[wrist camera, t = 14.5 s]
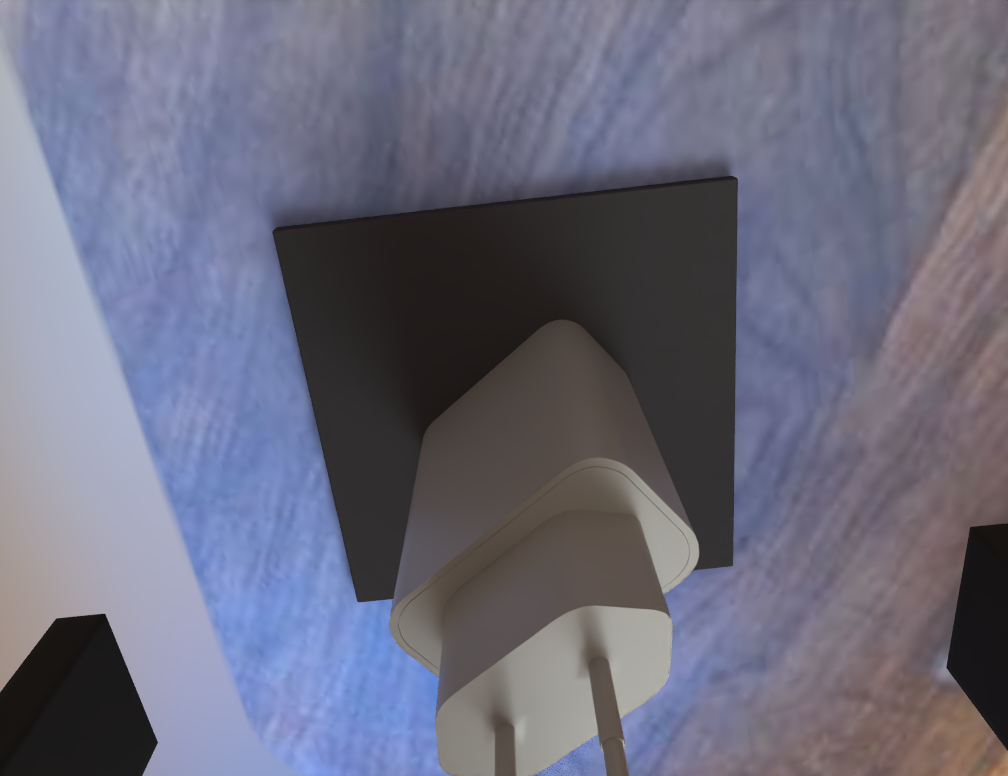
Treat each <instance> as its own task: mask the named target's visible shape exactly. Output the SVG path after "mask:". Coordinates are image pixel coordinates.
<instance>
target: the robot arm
mask: <svg viewBox="0 0 1008 776" xmlns="http://www.w3.org/2000/svg"><path fill="white" fill-rule="evenodd" d="M946 668H947V669H948V670H949V672H950V673H951V675H952V676H953V677H954V679H955V680H956V681H957V683H958V684H959V685H960V687H961V688H962V689H963V691H964V692H965V694H966V695H967V696H968V698H969V699H970V700H971V702H972V703H973V704H974V706H975V707H976V708H977V710H978V711H979V712H980V714H981V715H982V717H983V718H984V719H985V721H986V722H987V723H988V725H989V726H990V727H991V729H992V730H993V731H994V733H995V734H996V735H997V737H998V738H999V740H1000V741H1001V742H1002V744H1003V745H1004V746H1005V748H1006V749H1007V750H1008V523H1007V524H997V525H987V526H977V527H970V532H969V538H968V543H967V549H966V555H965V561H964V567H963V573H962V579H961V585H960V591H959V596H958V602H957V608H956V614H955V620H954V626H953V632H952V638H951V644H950V650H949V655H948V661H947V667H946ZM157 743H158V742H157V739H156V737H155V734H154V732H153V729H152V727H151V725H150V722H149V720H148V717H147V715H146V712H145V710H144V708H143V705H142V703H141V700H140V698H139V695H138V693H137V690H136V688H135V686H134V683H133V681H132V678H131V676H130V673H129V671H128V668H127V666H126V664H125V661H124V659H123V656H122V654H121V652H120V649H119V647H118V644H117V642H116V639H115V637H114V634H113V632H112V629H111V627H110V625H109V622H108V620H107V617H106V615H105V614H97V615H87V616H77V617H67V618H57V619H56V620H55V621H54V622H53V624H52V625H51V626H50V627H49V629H48V630H47V631H46V633H45V634H44V635H43V637H42V638H41V639H40V641H39V642H38V643H37V645H36V646H35V647H34V649H33V650H32V651H31V653H30V654H29V655H28V656H27V658H26V659H25V660H24V662H23V663H22V664H21V666H20V667H19V668H18V670H17V671H16V672H15V674H14V675H13V676H12V678H11V679H10V680H9V681H8V683H7V684H6V686H5V687H4V688H3V690H2V691H1V692H0V776H142V775H143V773H144V771H145V768H146V766H147V764H148V762H149V760H150V758H151V756H152V754H153V752H154V750H155V747H156V745H157Z"/></svg>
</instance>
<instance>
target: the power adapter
mask: <svg viewBox="0 0 1008 776" xmlns="http://www.w3.org/2000/svg"><path fill="white" fill-rule="evenodd" d="M698 558H699V545H698V541H697V539H696V536H695V533H694V531H693V529H692V526H691V524H690V522H689V519H688V517H687V515H686V512H685V510H684V508H683V505H682V503H681V500H680V498H679V496H678V493H677V491H676V489H675V486H674V484H673V482H672V479H671V477H670V475H669V472H668V470H667V468H666V465H665V463H664V460H663V458H662V456H661V453H660V451H659V449H658V446H657V444H656V442H655V439H654V437H653V435H652V432H651V430H650V428H649V425H648V423H647V420H646V418H645V416H644V413H643V411H642V409H641V406H640V404H639V402H638V399H637V397H636V395H635V392H634V390H633V387H632V385H631V383H630V380H629V378H628V376H627V374H626V373H625V371H624V370H623V369H622V368H621V367H620V366H619V365H618V364H617V363H616V362H615V361H614V360H613V358H612V357H611V356H610V355H609V354H608V353H607V352H606V351H605V350H604V349H603V348H602V347H601V346H600V345H599V344H598V343H597V342H596V340H595V339H594V338H593V337H592V336H591V335H590V334H589V333H588V332H587V331H586V330H585V329H584V328H583V327H582V326H580V325H579V324H577V323H575V322H572V321H568V320H554V321H552V322H549V323H547V324H545V325H544V326H542V327H541V328H540V329H538V330H537V331H536V332H535V333H534V334H533V335H531V336H530V337H529V338H528V339H527V340H526V341H525V342H523V343H522V344H521V345H520V346H519V347H518V348H517V349H515V350H514V351H513V352H512V353H511V354H510V355H509V356H507V357H506V358H505V359H504V360H503V361H502V362H501V363H499V364H498V365H497V366H496V367H495V368H494V369H493V370H491V371H490V372H489V373H488V374H487V375H486V376H485V377H483V378H482V379H481V380H480V381H479V382H478V383H477V384H475V385H474V386H473V387H472V388H471V389H470V390H469V391H467V392H466V393H465V394H464V395H463V396H462V397H461V398H459V399H458V400H457V401H456V402H455V403H454V404H453V405H451V406H450V407H449V408H448V409H447V410H446V411H445V412H443V413H442V414H441V415H440V416H439V417H438V418H437V419H435V420H434V421H433V422H432V423H431V424H430V426H429V427H428V428H427V430H426V432H425V433H424V436H423V442H422V447H421V453H420V458H419V463H418V469H417V474H416V480H415V485H414V490H413V496H412V501H411V507H410V512H409V517H408V523H407V528H406V534H405V539H404V544H403V550H402V555H401V561H400V566H399V571H398V577H397V582H396V588H395V593H394V598H393V604H392V609H391V615H390V621H389V627H390V631H391V634H392V637H393V638H394V640H395V642H396V643H397V644H398V646H399V647H400V648H401V649H403V650H404V651H405V652H406V653H408V654H409V655H410V656H412V657H413V658H414V659H415V660H417V661H418V662H419V663H420V664H422V665H423V666H424V667H426V668H427V669H428V670H429V671H431V672H432V673H433V674H435V675H436V676H437V677H438V678H439V684H438V695H437V707H436V718H435V725H436V736H437V747H438V757H439V764H440V766H441V769H442V770H443V771H445V772H446V773H448V774H450V775H454V776H532V775H535V774H537V773H539V772H540V771H542V770H544V769H546V768H548V767H549V766H551V765H552V764H554V763H555V762H557V761H558V760H560V759H561V758H563V757H564V756H566V755H567V754H569V753H570V752H572V751H573V750H575V749H576V748H578V747H579V746H581V745H582V744H584V743H585V742H587V741H588V740H590V739H591V738H593V737H594V736H596V735H597V734H598V735H599V741H600V747H601V751H602V752H603V753H604V759H605V765H606V772H607V776H629V773H628V768H627V762H626V757H625V752H624V749H625V741H624V735H623V730H622V725H621V720H620V719H621V718H622V717H624V716H625V715H627V714H628V713H630V712H631V711H633V710H634V709H636V708H637V707H639V706H640V705H642V704H643V703H645V702H646V701H648V700H649V699H650V698H652V697H653V696H654V695H655V694H656V693H658V692H659V690H660V689H661V688H662V687H663V685H664V684H665V683H666V681H667V679H668V676H669V673H670V661H671V646H672V632H673V624H672V621H671V617H670V614H669V611H668V608H667V604H666V601H665V598H664V594H665V593H667V592H668V591H670V590H671V589H672V588H674V587H675V586H677V585H678V584H679V583H681V582H682V581H683V580H684V579H685V578H686V577H687V576H688V575H689V574H690V573H691V572H692V570H693V569H694V568H695V566H696V564H697V561H698Z"/></svg>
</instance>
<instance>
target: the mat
mask: <svg viewBox="0 0 1008 776" xmlns="http://www.w3.org/2000/svg"><path fill="white" fill-rule="evenodd" d="M737 190H738V179H737V178H735V177H733V176H727V177H719V178H710V179H701V180H692V181H683V182H674V183H665V184H657V185H648V186H639V187H630V188H621V189H612V190H604V191H595V192H586V193H577V194H568V195H559V196H551V197H542V198H533V199H524V200H515V201H506V202H497V203H489V204H480V205H471V206H462V207H453V208H444V209H436V210H427V211H418V212H409V213H400V214H391V215H382V216H374V217H365V218H356V219H347V220H338V221H329V222H321V223H312V224H303V225H294V226H285V227H277V228H276V229H274V230H273V237H274V241H275V245H276V250H277V254H278V258H279V263H280V267H281V271H282V276H283V280H284V284H285V289H286V293H287V297H288V302H289V306H290V310H291V315H292V319H293V323H294V328H295V332H296V336H297V341H298V345H299V349H300V354H301V358H302V363H303V367H304V371H305V376H306V380H307V384H308V389H309V393H310V397H311V402H312V406H313V410H314V415H315V419H316V423H317V428H318V432H319V436H320V441H321V445H322V449H323V454H324V458H325V462H326V467H327V471H328V475H329V480H330V484H331V488H332V493H333V497H334V501H335V506H336V510H337V514H338V519H339V523H340V528H341V532H342V536H343V541H344V545H345V549H346V554H347V558H348V562H349V567H350V571H351V575H352V580H353V584H354V588H355V593H356V597H357V601H358V602H366V601H376V600H387V599H393V598H394V593H395V588H396V582H397V577H398V571H399V566H400V561H401V555H402V550H403V544H404V539H405V534H406V528H407V523H408V517H409V512H410V507H411V501H412V496H413V490H414V485H415V480H416V474H417V469H418V463H419V458H420V453H421V447H422V442H423V436H424V433H425V432H426V430H427V428H428V427H429V426H430V424H431V423H432V422H433V421H434V420H435V419H437V418H438V417H439V416H440V415H441V414H442V413H443V412H445V411H446V410H447V409H448V408H449V407H450V406H451V405H453V404H454V403H455V402H456V401H457V400H458V399H459V398H461V397H462V396H463V395H464V394H465V393H466V392H467V391H469V390H470V389H471V388H472V387H473V386H474V385H475V384H477V383H478V382H479V381H480V380H481V379H482V378H483V377H485V376H486V375H487V374H488V373H489V372H490V371H491V370H493V369H494V368H495V367H496V366H497V365H498V364H499V363H501V362H502V361H503V360H504V359H505V358H506V357H507V356H509V355H510V354H511V353H512V352H513V351H514V350H515V349H517V348H518V347H519V346H520V345H521V344H522V343H523V342H525V341H526V340H527V339H528V338H529V337H530V336H531V335H533V334H534V333H535V332H536V331H537V330H538V329H540V328H541V327H542V326H544V325H545V324H547V323H549V322H552V321H554V320H568V321H572V322H575V323H577V324H579V325H580V326H582V327H583V328H584V329H585V330H586V331H587V332H588V333H589V334H590V335H591V336H592V337H593V338H594V339H595V340H596V342H597V343H598V344H599V345H600V346H601V347H602V348H603V349H604V350H605V351H606V352H607V353H608V354H609V355H610V356H611V357H612V358H613V360H614V361H615V362H616V363H617V364H618V365H619V366H620V367H621V368H622V369H623V370H624V371H625V373H626V374H627V376H628V378H629V380H630V383H631V385H632V387H633V390H634V392H635V395H636V397H637V399H638V402H639V404H640V406H641V409H642V411H643V413H644V416H645V418H646V420H647V423H648V425H649V428H650V430H651V432H652V435H653V437H654V439H655V442H656V444H657V446H658V449H659V451H660V453H661V456H662V458H663V460H664V463H665V465H666V468H667V470H668V472H669V475H670V477H671V479H672V482H673V484H674V486H675V489H676V491H677V493H678V496H679V498H680V500H681V503H682V505H683V508H684V510H685V512H686V515H687V517H688V519H689V522H690V524H691V526H692V529H693V531H694V533H695V536H696V539H697V541H698V545H699V558H698V561H697V564H696V566H695V568H694V569H693V570H697V569H708V568H718V567H728V566H733V516H734V435H735V353H736V271H737Z"/></svg>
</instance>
